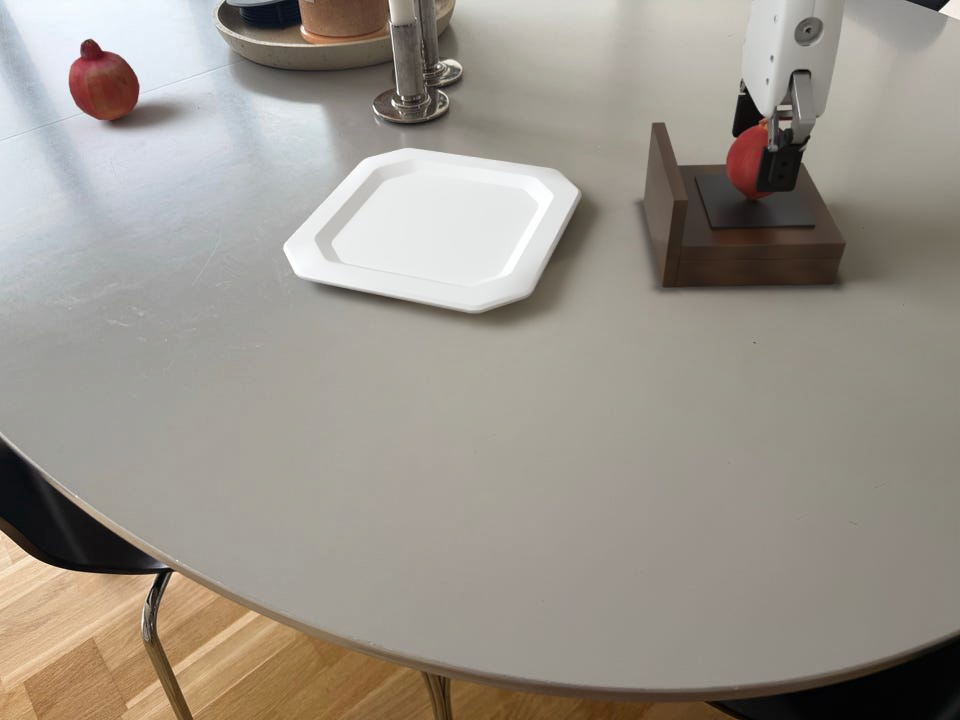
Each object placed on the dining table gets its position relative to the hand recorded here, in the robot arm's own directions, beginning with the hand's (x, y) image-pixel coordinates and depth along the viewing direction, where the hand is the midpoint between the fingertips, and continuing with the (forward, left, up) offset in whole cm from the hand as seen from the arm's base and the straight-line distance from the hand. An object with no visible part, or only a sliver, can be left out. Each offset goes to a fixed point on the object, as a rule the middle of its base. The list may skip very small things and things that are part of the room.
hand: (760, 161), depth 73 cm
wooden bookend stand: (+1, 0, -8) cm, 8 cm away
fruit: (+73, -30, -9) cm, 79 cm away
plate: (+30, -2, -9) cm, 31 cm away
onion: (0, 0, -4) cm, 4 cm away
